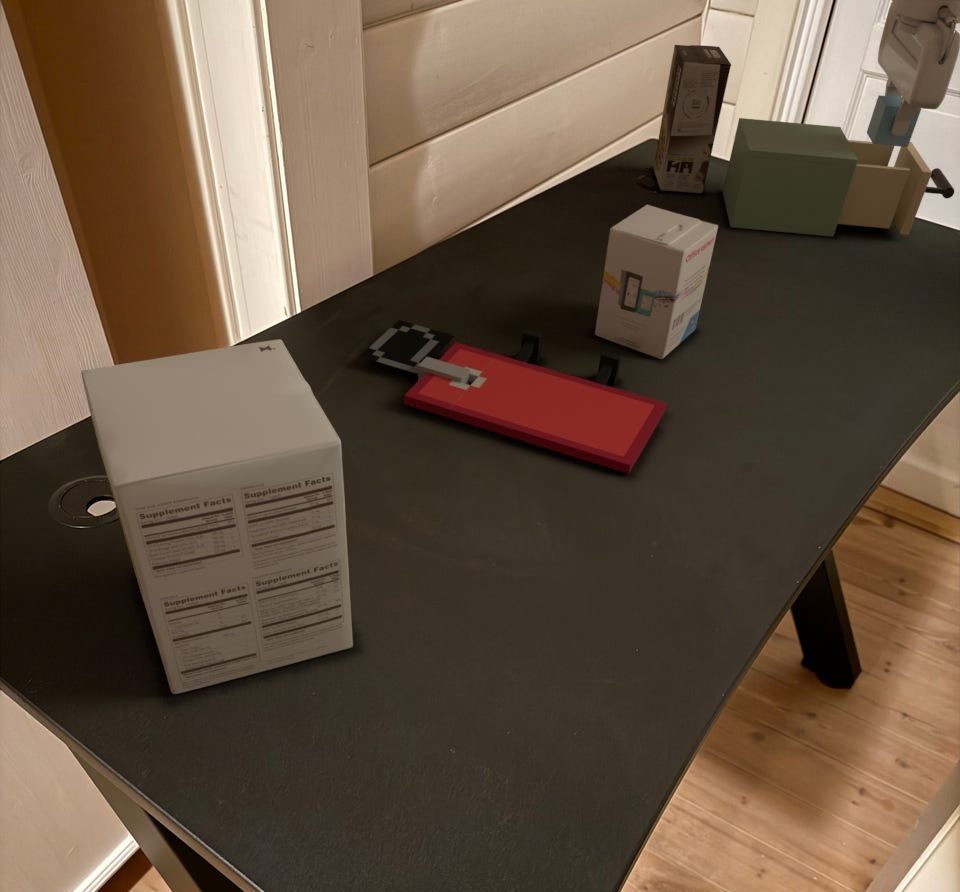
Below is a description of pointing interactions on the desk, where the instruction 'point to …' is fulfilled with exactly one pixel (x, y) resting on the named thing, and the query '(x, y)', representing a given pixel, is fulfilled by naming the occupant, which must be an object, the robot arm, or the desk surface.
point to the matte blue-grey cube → (888, 123)
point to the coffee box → (690, 117)
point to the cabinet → (788, 177)
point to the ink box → (654, 280)
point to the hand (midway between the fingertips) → (891, 126)
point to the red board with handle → (523, 395)
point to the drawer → (889, 187)
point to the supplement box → (227, 508)
